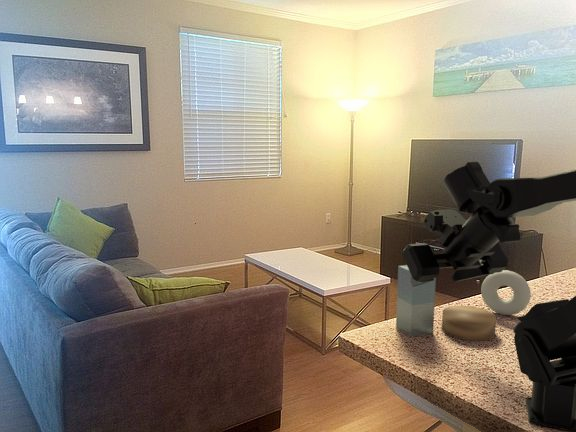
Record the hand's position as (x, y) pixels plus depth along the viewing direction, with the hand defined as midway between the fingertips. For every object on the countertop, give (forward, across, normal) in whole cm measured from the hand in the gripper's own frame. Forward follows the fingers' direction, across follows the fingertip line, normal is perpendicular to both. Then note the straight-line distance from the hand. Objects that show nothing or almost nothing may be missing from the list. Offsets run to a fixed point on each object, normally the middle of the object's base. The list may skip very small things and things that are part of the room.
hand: (433, 281), depth 89 cm
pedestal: (+9, -10, +7) cm, 16 cm away
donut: (+13, -24, +4) cm, 28 cm away
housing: (+12, 0, +5) cm, 13 cm away
